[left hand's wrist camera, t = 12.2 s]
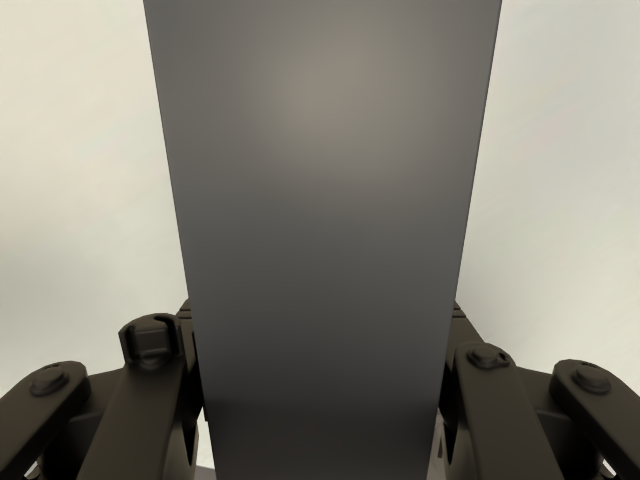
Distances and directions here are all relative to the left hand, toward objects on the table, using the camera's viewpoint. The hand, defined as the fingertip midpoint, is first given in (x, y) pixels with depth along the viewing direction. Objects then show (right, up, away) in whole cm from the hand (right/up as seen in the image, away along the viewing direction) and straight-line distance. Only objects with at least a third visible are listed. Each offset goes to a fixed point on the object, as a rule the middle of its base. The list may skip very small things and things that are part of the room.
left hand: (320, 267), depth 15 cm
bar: (0, +10, -3) cm, 11 cm away
